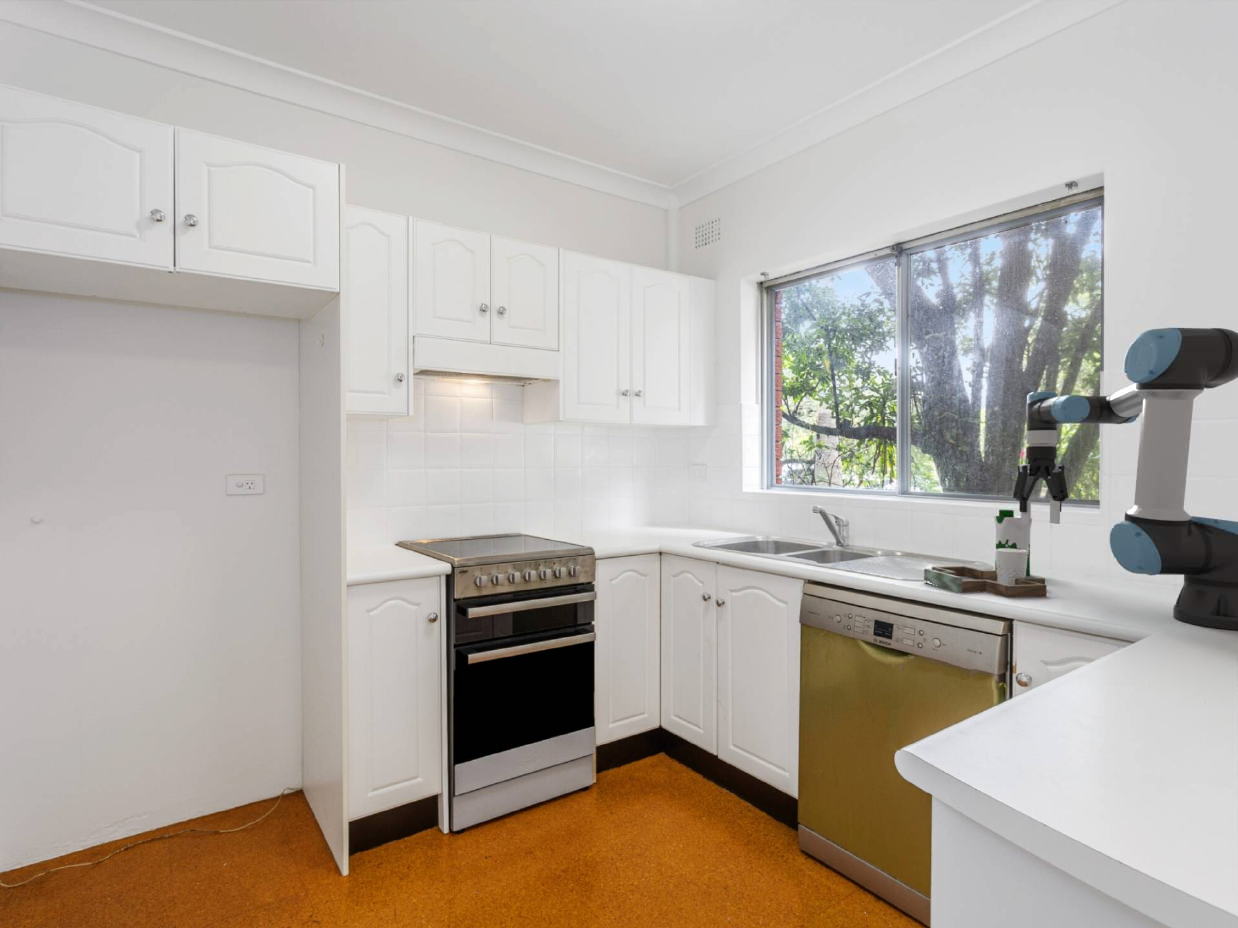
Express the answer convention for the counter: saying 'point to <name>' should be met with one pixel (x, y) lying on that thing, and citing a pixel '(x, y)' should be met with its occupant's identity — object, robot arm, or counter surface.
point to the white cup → (1010, 565)
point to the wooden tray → (983, 582)
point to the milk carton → (1012, 534)
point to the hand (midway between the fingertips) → (1040, 523)
